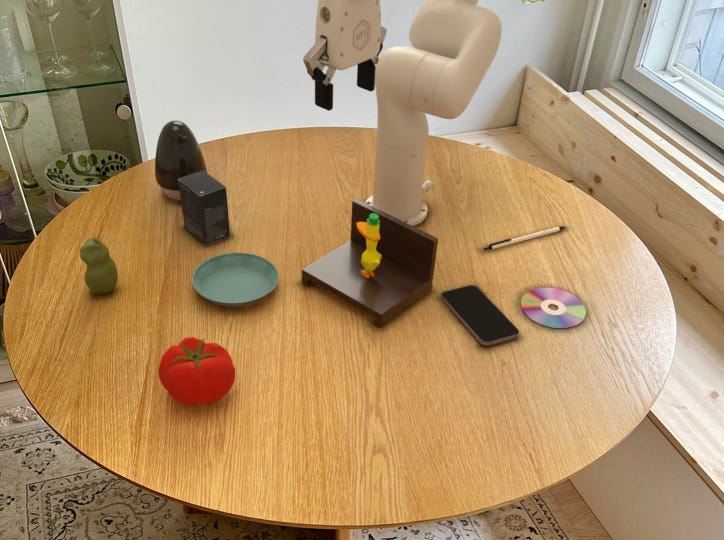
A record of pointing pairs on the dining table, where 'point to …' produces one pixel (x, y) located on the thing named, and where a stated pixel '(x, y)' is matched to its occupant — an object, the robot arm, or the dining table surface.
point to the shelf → (378, 267)
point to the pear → (98, 266)
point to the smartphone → (479, 315)
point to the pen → (522, 238)
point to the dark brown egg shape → (176, 157)
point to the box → (204, 207)
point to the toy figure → (370, 244)
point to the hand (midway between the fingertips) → (345, 97)
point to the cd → (564, 317)
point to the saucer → (235, 279)
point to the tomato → (196, 372)
